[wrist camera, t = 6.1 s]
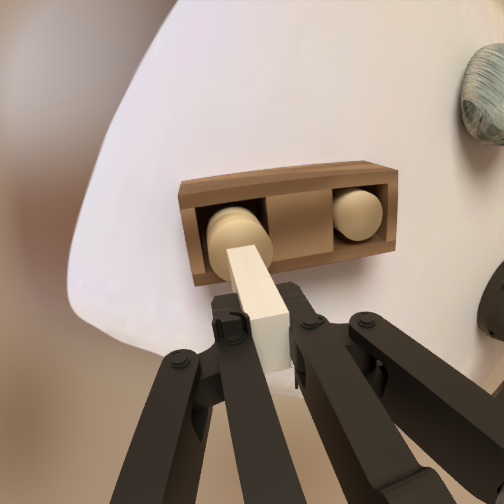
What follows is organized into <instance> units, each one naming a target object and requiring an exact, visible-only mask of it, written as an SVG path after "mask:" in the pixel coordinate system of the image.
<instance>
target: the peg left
mask: <svg viewBox="0 0 504 504" xmlns="http://www.w3.org/2000/svg"><path fill="white" fill-rule="evenodd" d="M206 236H207V245H208V254H209V261H210V265H211V267H212V269H213V271H214V272H215V273H216V274H217V275H218V276H219V277H220V278H222V279H223V280H225V281H228V282H231V278H230V271H229V264H228V257H227V251H226V249H231V248H237V247H243V246H249V245H255V247H256V249H257V251H258V253H259V255H260V257H261V259H262V260H263V262H264V264H265V266H266V268H267V269H268V268H269V266H270V264H271V262H272V259H273V245H272V242H271V240H270V238H269V236H268V235H267V233H266V231H265V230H264V228H263V227H262V225H261V224H260V222H259V221H258V219H257V218H256V216H255V215H254V213H253V212H252V211H251V210H250V209H249V208H247V207H245V206H243V205H240V204H226V205H223V206H221V207H219V208H217V209H216V210H215V211H214V212H213V213H212V214H211V215H210V217H209V219H208V221H207V225H206Z"/></svg>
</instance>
